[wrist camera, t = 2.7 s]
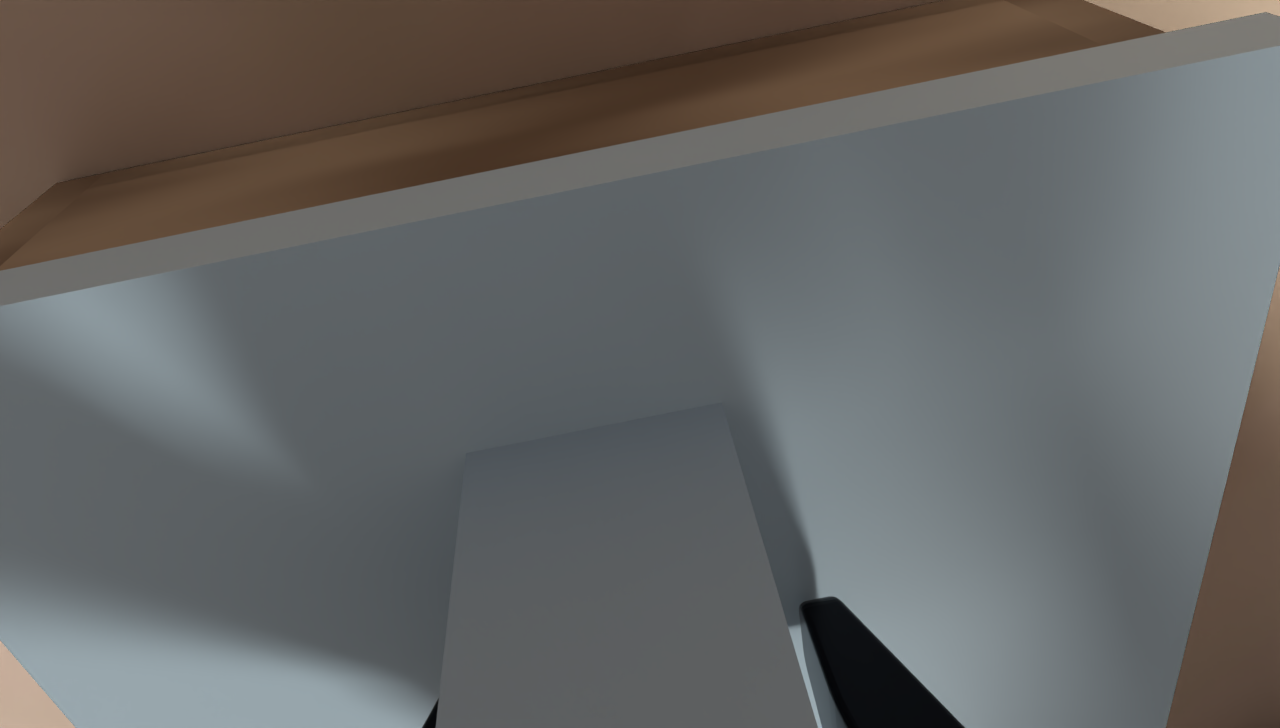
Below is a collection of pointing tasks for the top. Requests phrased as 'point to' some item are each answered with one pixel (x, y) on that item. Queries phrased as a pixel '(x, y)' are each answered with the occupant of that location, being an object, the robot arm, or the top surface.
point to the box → (552, 121)
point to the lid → (666, 418)
